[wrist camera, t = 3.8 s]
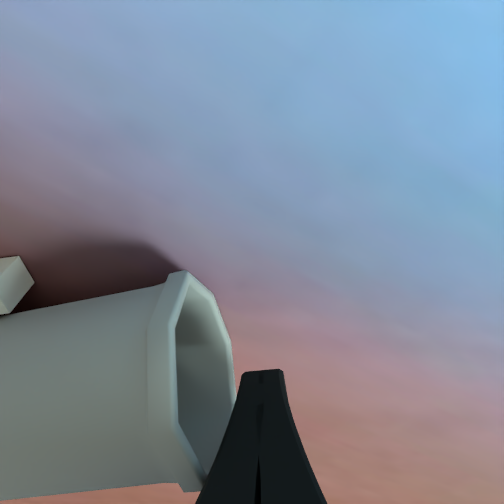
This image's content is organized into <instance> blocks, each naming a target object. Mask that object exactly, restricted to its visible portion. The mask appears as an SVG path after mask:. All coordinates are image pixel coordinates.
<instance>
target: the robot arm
mask: <svg viewBox="0 0 504 504" xmlns="http://www.w3.org/2000/svg"><path fill="white" fill-rule="evenodd" d="M195 504H327V502H326V500H325V498H324V495H323V493H322V491H321V489H320V487H319V484H318V482H317V480H316V477H315V475H314V473H313V470H312V468H311V466H310V463H309V461H308V458H307V456H306V453H305V451H304V448H303V445H302V442H301V440H300V437H299V434H298V431H297V429H296V426H295V423H294V420H293V417H292V413H291V410H290V406H289V403H288V397H287V392H286V386H285V380H284V374H283V371H282V370H280V369H272V370H261V371H249V372H245V373H243V374H242V376H241V381H240V386H239V390H238V393H237V397H236V401H235V404H234V407H233V410H232V413H231V417H230V420H229V423H228V425H227V428H226V431H225V434H224V436H223V439H222V442H221V444H220V447H219V450H218V452H217V455H216V457H215V460H214V462H213V465H212V467H211V469H210V472H209V474H208V476H207V479H206V481H205V483H204V486H203V488H202V490H201V492H200V495H199V497H198V499H197V501H196V503H195Z"/></svg>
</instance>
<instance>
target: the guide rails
mask: <svg viewBox="0 0 504 504" xmlns="http://www.w3.org/2000/svg"><path fill="white" fill-rule="evenodd" d="M34 283H35V282H34V280H33V279H32V277H31V275H30V274H29V272H28V270H27V269H26V267H25V265H24V264H23V262H22V260H21V259H20V257H19V256H14V257H7V258H0V314H8V313H10V312H11V311H12V310H13V309H14V307H15V306H16V305H17V304H18V302H19V301H20V300H21V299H22V298H23V296H24V295H25V294H26V293H27V291H28V290H29V289H30V288H31V286H32V285H33V284H34Z"/></svg>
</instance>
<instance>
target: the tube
mask: <svg viewBox="0 0 504 504" xmlns="http://www.w3.org/2000/svg"><path fill="white" fill-rule="evenodd" d="M235 401H236V387H235V377H234V366H233V356H232V345H231V340H230V337H229V335H228V332H227V329H226V327H225V324H224V321H223V319H222V316H221V313H220V311H219V308H218V305H217V303H216V300H215V297H214V295H213V293H212V292H211V291H210V290H208V289H207V288H206V287H205V286H204V285H203V284H202V283H200V282H199V281H198V280H197V279H196V278H195V277H194V276H193V275H191V274H190V273H189V272H188V271H186V270H183V271H179V272H175V273H170V274H169V275H168V278H167V280H166V282H165V283H162V284H159V285H156V286H152V287H147V288H142V289H137V290H132V291H127V292H121V293H116V294H111V295H106V296H101V297H96V298H91V299H86V300H81V301H76V302H71V303H65V304H60V305H55V306H50V307H45V308H40V309H35V310H30V311H25V312H20V313H14V314H9V315H4V316H0V501H1V500H11V499H20V498H29V497H38V496H47V495H56V494H66V493H75V492H84V491H93V490H102V489H111V488H121V487H130V486H139V485H148V484H157V483H178V484H179V485H180V487H181V488H182V490H183V492H197V491H201V490H202V488H203V486H204V483H205V481H206V479H207V476H208V474H209V472H210V469H211V467H212V465H213V462H214V460H215V457H216V455H217V452H218V450H219V447H220V444H221V442H222V439H223V436H224V434H225V431H226V428H227V425H228V423H229V420H230V417H231V413H232V410H233V407H234V404H235Z"/></svg>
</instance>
